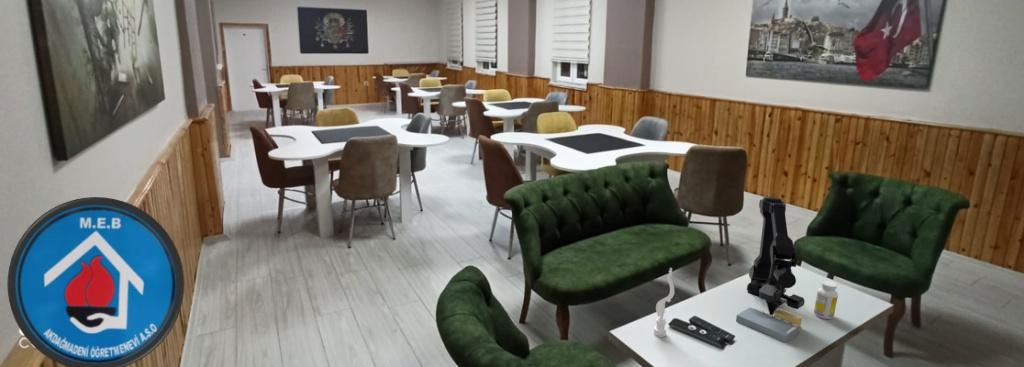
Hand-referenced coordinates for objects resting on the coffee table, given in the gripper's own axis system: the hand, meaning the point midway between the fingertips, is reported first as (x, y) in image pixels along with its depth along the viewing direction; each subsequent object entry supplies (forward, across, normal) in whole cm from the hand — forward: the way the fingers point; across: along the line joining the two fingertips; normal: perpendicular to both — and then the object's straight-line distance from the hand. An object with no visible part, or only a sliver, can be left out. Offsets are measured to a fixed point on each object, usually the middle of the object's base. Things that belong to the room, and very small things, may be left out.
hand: (771, 315), depth 205 cm
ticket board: (+1, +2, -8) cm, 8 cm away
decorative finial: (+2, -18, -43) cm, 46 cm away
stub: (+1, +6, 0) cm, 6 cm away
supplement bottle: (+1, +11, +19) cm, 22 cm away
